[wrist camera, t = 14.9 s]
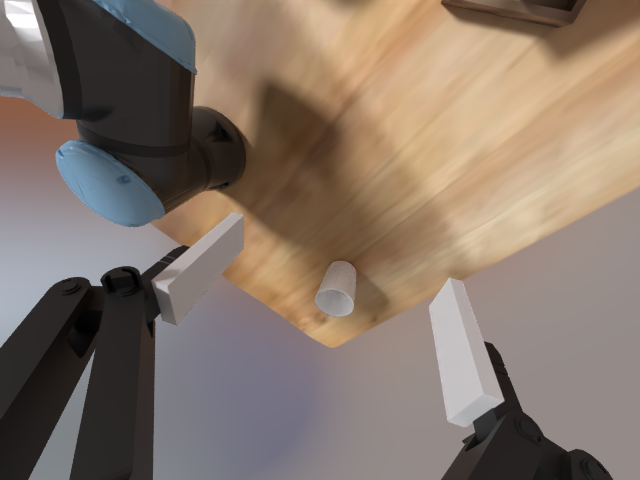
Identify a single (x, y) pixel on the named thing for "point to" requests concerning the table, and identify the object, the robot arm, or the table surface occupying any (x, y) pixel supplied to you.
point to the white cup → (337, 289)
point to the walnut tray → (527, 9)
